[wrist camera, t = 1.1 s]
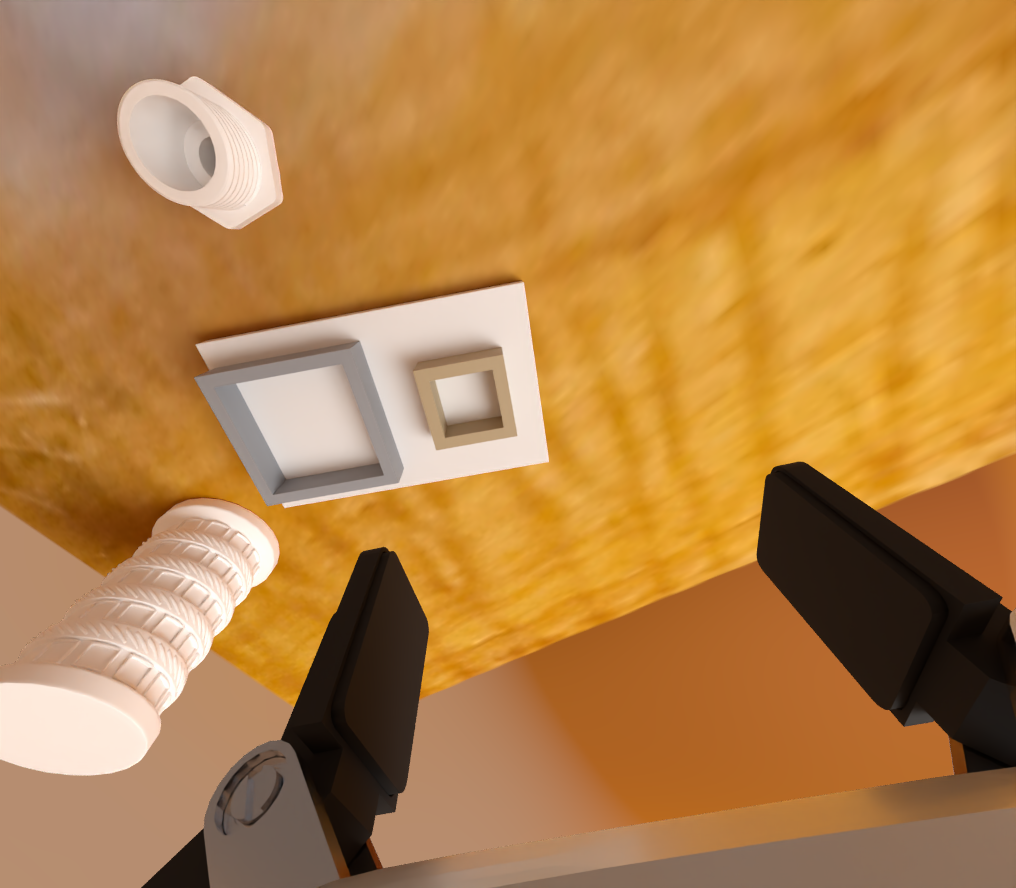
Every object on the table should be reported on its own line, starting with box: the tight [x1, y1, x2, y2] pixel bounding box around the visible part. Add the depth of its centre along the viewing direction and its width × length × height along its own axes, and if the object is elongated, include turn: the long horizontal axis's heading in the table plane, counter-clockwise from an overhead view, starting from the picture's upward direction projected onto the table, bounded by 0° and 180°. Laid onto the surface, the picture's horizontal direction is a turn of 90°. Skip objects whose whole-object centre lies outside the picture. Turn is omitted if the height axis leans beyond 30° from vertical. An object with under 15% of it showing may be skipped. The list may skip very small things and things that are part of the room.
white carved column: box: [0, 498, 280, 775], centre depth 33 cm, size 12×12×18 cm
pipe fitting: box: [117, 76, 283, 229], centre depth 23 cm, size 6×7×8 cm
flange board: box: [194, 281, 549, 508], centre depth 33 cm, size 16×26×4 cm, turn 100°
